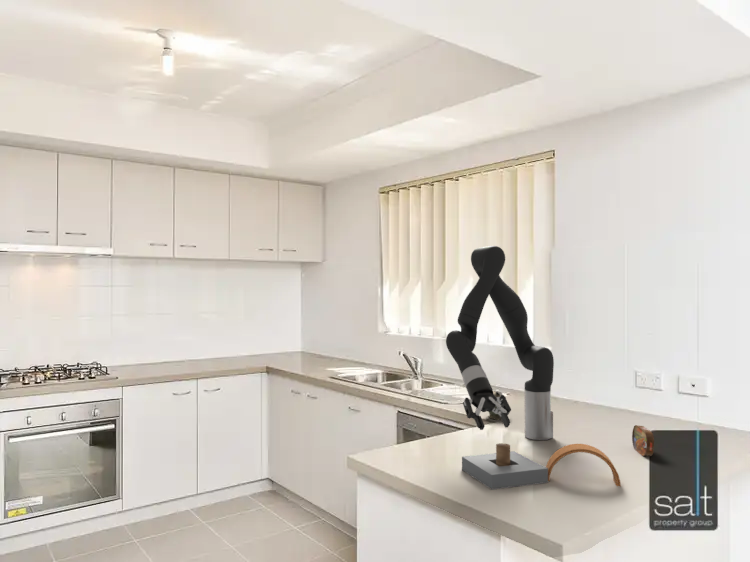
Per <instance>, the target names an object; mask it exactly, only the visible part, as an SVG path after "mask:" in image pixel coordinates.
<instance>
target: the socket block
mask: <svg viewBox="0 0 750 562" xmlns="http://www.w3.org/2000/svg"><path fill="white" fill-rule="evenodd" d="M461 470H462V471H463V472H465V473H466V474H468V475H469V476H471V477H472V478H474V479H475V480H477V481H478V482H479V483H481V484H482V485H484V486H485V487H487V488H489V489H490V490H499V489H507V488H513V487H515V488H516V487H522V486H529V485H531V486H532V485H537V484H538V485H539V484H545V483H549V482H548V468H546V466H544V465H543V464H540V463H538V462H536V461H534V460H532V459H530V458H528V457H527V456H524V455H523V454H520V453H518V452H516V451H515V450H512V451H511V450H510V465H509V466H500V467H499V466H497V465H496V452H493V453H485V454H483V453H482V454H481V453H480V454H475V455H463V456H461Z"/></svg>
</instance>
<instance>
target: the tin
mask: <svg viewBox="0 0 750 562" xmlns="http://www.w3.org/2000/svg"><path fill="white" fill-rule="evenodd" d="M631 434H632V435H631V438H632V439H631V440H632V447H633V449H634V450H635V451H636V452H637V454H639V455H640V456H641V457H652V456H653V454H654V450H655V438H654V437H655V436H654V433H653V432H652V431H651V430H649V429H648V428H647V427H646V426H644V425H636V424H635V425H634V426H633V428H632V432H631Z"/></svg>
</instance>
